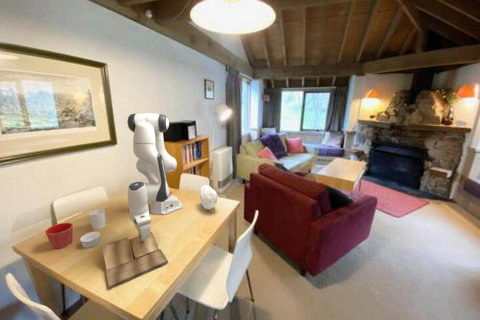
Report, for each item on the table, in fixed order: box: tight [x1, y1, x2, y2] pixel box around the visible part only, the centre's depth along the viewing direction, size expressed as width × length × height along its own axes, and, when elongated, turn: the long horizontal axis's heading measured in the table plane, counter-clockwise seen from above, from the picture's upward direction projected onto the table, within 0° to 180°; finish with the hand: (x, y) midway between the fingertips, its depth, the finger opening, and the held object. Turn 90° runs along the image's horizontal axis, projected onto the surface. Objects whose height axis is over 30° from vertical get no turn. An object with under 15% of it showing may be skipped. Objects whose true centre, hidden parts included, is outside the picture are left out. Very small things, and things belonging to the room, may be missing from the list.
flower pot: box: [44, 222, 74, 250], centre depth 109 cm, size 11×11×10 cm
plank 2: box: [129, 231, 160, 260], centre depth 107 cm, size 11×12×2 cm
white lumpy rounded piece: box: [199, 184, 218, 212], centre depth 150 cm, size 18×11×17 cm, turn 32°
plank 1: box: [101, 237, 135, 271], centre depth 99 cm, size 11×12×2 cm
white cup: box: [88, 208, 107, 230], centre depth 125 cm, size 8×8×10 cm
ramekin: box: [79, 231, 101, 249], centre depth 111 cm, size 9×9×4 cm
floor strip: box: [105, 248, 169, 290], centre depth 96 cm, size 24×11×2 cm, turn 129°
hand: (142, 237), depth 109 cm, fingers open, 3 cm apart
